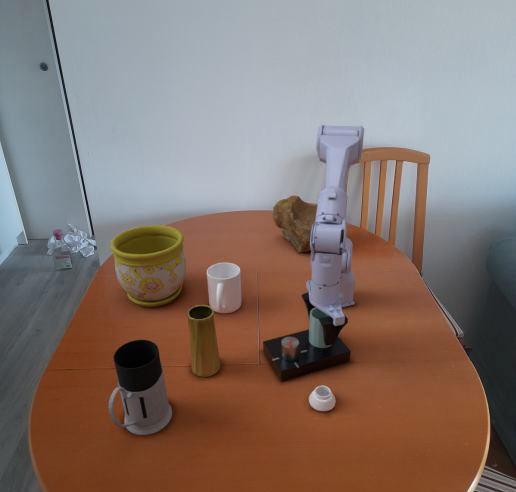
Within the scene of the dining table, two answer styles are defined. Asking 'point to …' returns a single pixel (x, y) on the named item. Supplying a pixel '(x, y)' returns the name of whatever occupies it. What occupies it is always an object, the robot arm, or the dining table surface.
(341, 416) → the dining table surface
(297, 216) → the rough brown rock
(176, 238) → the flowerpot
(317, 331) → the cup
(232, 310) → the mug
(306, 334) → the hob
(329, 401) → the white jar
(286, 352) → the hob knob
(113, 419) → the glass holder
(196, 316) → the vase
